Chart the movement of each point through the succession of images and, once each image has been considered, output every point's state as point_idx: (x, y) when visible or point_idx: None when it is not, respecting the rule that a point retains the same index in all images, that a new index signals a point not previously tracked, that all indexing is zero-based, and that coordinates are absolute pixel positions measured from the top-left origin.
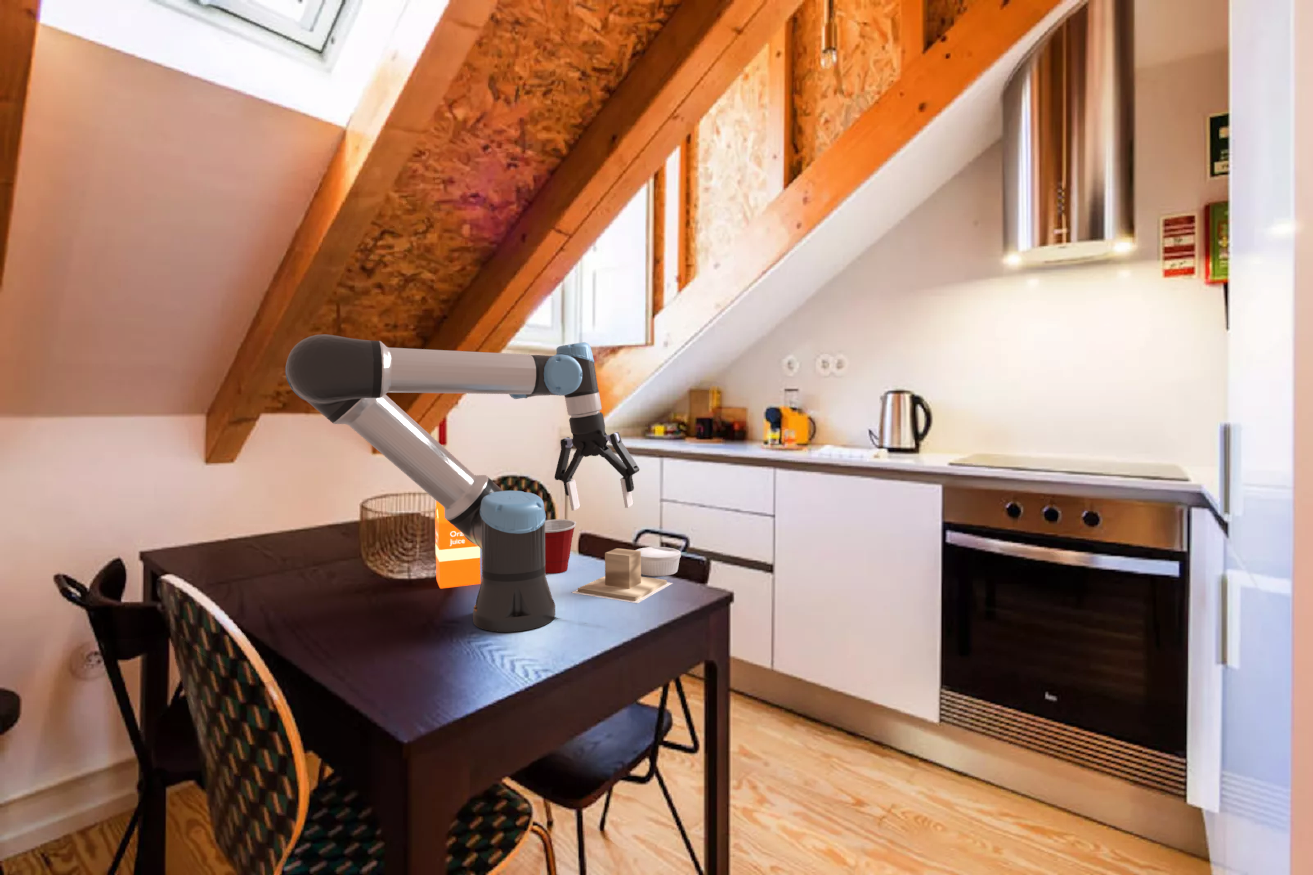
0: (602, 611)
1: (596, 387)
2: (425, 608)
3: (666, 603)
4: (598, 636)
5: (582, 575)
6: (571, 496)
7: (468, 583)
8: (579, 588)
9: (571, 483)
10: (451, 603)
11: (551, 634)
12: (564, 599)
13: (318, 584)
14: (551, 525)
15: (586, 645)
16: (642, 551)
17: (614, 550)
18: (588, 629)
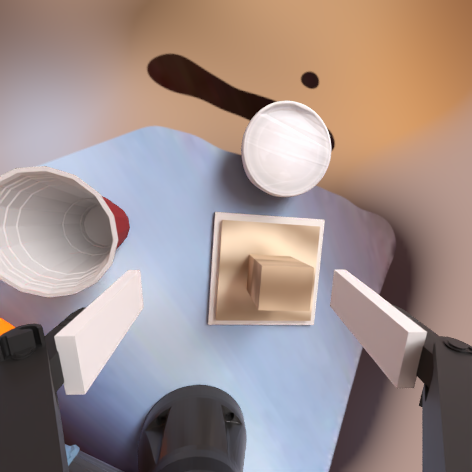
0: (280, 359)
1: None
2: None
3: None
4: (312, 426)
5: (163, 220)
6: (119, 339)
7: None
8: (218, 320)
9: (88, 367)
10: (66, 428)
11: (264, 446)
12: (208, 341)
13: None
14: (12, 190)
15: (312, 451)
16: (261, 157)
17: (266, 285)
18: (293, 415)
